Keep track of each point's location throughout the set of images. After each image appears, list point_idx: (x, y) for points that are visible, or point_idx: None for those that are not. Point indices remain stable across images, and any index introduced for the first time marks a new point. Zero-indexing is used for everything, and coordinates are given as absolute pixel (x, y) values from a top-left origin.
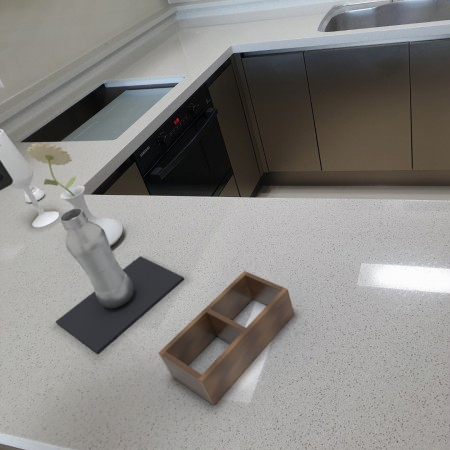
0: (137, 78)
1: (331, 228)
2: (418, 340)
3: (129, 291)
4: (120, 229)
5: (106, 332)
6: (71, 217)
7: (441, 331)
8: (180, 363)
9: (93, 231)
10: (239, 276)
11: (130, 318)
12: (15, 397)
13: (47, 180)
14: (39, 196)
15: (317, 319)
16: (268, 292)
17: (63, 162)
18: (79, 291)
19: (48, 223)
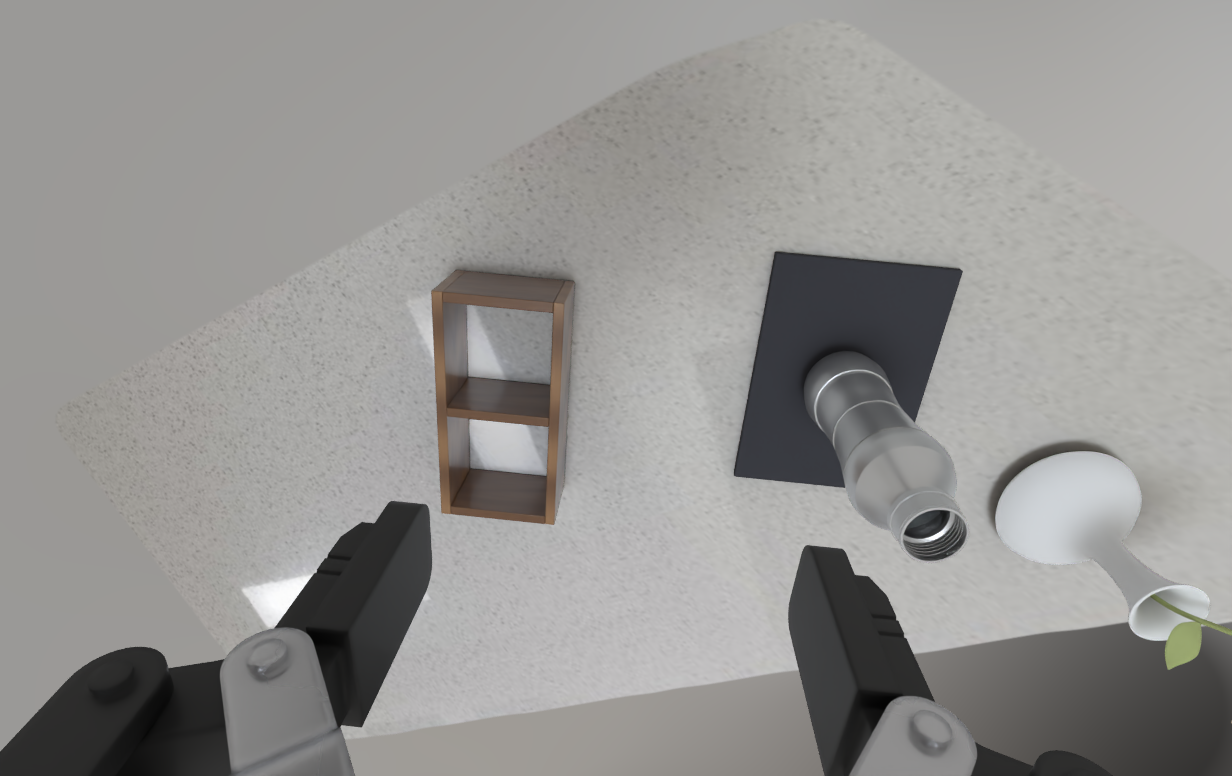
0: None
1: (531, 654)
2: (259, 495)
3: (805, 403)
4: (1007, 543)
5: (796, 301)
6: (953, 529)
7: (241, 519)
8: (500, 303)
9: (868, 508)
10: (552, 510)
11: (769, 350)
12: (885, 78)
13: None
14: None
15: (418, 478)
16: (494, 496)
17: None
18: (980, 361)
19: None
